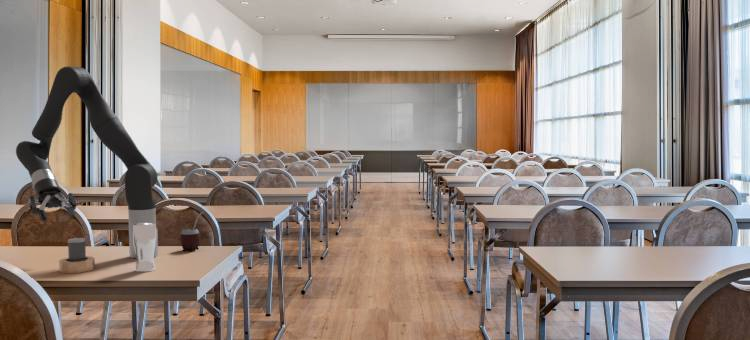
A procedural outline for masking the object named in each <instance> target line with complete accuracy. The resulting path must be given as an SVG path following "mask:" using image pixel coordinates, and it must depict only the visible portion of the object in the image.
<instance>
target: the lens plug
mask: <svg viewBox="0 0 750 340" xmlns="http://www.w3.org/2000/svg"><path fill="white" fill-rule="evenodd" d="M67 243H68V247H67V250H68V253H67V255H68V258H69V261H81V260H86V255H87V254H86V253H87V252H86V251H87V250H86V238H85V237H76V238H75V237H74V238H69V239H67Z"/></svg>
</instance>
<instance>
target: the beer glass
mask: <svg viewBox="0 0 750 340" xmlns="http://www.w3.org/2000/svg"><path fill="white" fill-rule="evenodd" d="M133 243H134V249H135V253H136V258H135V259H136V264H135V268H134V270H135V272H136V273H145V272H148V273H149V272H153V271H155V270H156V269H157V268H156V264H155V263H156V262H155V257H154V252H155V245H156V229H155V223H152V222H145V223H136V224H133Z"/></svg>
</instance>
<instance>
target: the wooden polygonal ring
mask: <svg viewBox="0 0 750 340" xmlns="http://www.w3.org/2000/svg"><path fill="white" fill-rule="evenodd" d="M95 265H96V261H95V257H94V256H89V255H88V256H86V260H81V261H69V257H64V258H62V259H59V260H58V268H59V269H58V270H59V273H61V274H78V273H85V272H90V271H94V270H95V268H96V266H95Z"/></svg>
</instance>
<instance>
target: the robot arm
mask: <svg viewBox="0 0 750 340" xmlns="http://www.w3.org/2000/svg"><path fill="white" fill-rule="evenodd" d="M72 93H73V94H74V93H75V94H76V95H77V96H78V98H79V99H80V100H81V101H82V103H83V104H84V105H85V107H86V109H87V112H88V113H87V114H88V120H89V123H90V126H91V128H92V130H93V131H94V133H95V135H96V136H97V138H98V139H99V141H100V142H102V143H103V145H104V146H105V147H106V148H107V149H109V151H111V153H113V154H114V155H115V156H116V157H117V158H119V160H120V161H121V162H122V163H123V165H124V166H125V167H126V172H125V175H124V188H125V189H124V190H125V191H124V193H125V201H126V203H127V207H128V208H127V211H128V237H129V238H128V240H129V241H128V242H129V245H128V246H129V257H130V258H131V259H136V253H135V249H134V243H133V224H136V223H145V222H152V223H155V229H156V245H155V252H154V258H155V257H157V256H158V255H159V245H158V244H159V241H158V240H159V239H158V228H157V216H156V215H157V214H156V213H157V210H156V201H155V200H154V198H153V191H152V188H153V187H154V186H156V184H157V183H158V173H157V170H156V169H155V167H154V166H153V165H152V164H151V163H150V162H149V160H147V158H146V157H145V156H144V154H143V153H142V152H141V151H140V150H139V148H138V146H137V145H136V144H135V142H134V140H133V139H132V137H131V135H130V134H129V133H128V131H127V130H126V128H125V126H124V125H123V123H122V122H121V121H120V119H119V118H118V116H117V115H116V114H115V113H114V112H115V111H113V109H112V108H111V107H110V105H109V104H108V102H107V101H106V100H105V98H104V97H103V95H102V93H101V90H100V89H99V88H98V86H97V84H96V83H95V80H94V79H93V76H92V75H91V74H90V72H89V71H88V70H86V69H85V68H84V67H82V66H81V67H80V66H64V67H61V68H60V69H58V71H57V72H56V75H55V77H54V80H53V83H52V86H51V88H50V92H49V94H48V97H47V100H46V103H45V105H44V108H43V110H42V112H41V114H40V116H39V118H38V120H37V122H36V123H35V125H34V127H33V129H32V130H31V135H32V137H33V138H34V139H36V140H37V141H39V143H38V142H33V141H27V140H24V141H23V140H22V141H20V142H19V143H18V144H17V146H16V148H15V154H16V157H17V159H18V161H19V162H20V163H21V164H22V165H23V167H24V168H25V170H27V171H28V174H29V177H30V179H31V183H32V187H33V189H34V192H35V195H36V197H34V196H33V195H30V196H29V198H28V205H29V209H30V213H31V214H33V215H34V214H38V216H39V219H40V221H42V222H43V223H47V220H48V217H47V214H46V211H45V209H46V208H47V209H53V208H60V209H61V210H65V211H66V213H67V215H68V217H69V220H73V219H74V217H75V215H76V213H75V210H76V209H77V206H78V203H77V201H76V199H75V197H74V195H73V194H72V193H71V192H68V194H63V193H62V191H61V188H60V186H59V183H58V181H57V178H56V176H55V175H54V174H55V173H53V170H52V168H51V165H50V163H49V162H48V161H47V160H48V158H49V155H50V151H51V147H52V142H53V139H54V136H55V134H56V133H57V131H58V130H59V128H60V126H61V123H62V119H63V111H64V110H63V109H64V107H65V104H66V102H67V101H68V99H69V97H70V96H71V95H72ZM37 202H38V203H39V204H41V205H40V206H39V207H38V206H37Z"/></svg>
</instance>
